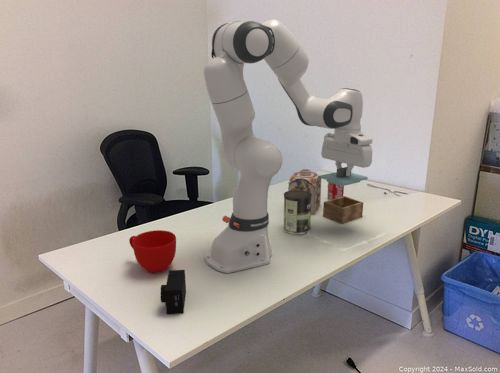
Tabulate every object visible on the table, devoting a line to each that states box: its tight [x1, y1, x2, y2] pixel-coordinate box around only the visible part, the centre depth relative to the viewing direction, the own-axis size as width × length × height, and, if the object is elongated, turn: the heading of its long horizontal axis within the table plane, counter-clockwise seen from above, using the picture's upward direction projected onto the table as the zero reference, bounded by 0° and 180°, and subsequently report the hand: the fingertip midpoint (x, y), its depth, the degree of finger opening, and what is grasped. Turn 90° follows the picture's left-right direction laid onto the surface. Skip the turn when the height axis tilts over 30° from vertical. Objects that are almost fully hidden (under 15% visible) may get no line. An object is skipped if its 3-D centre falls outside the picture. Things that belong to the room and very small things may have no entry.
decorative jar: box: [287, 168, 322, 216], centre depth 171 cm, size 12×12×18 cm
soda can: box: [327, 182, 345, 201], centre depth 184 cm, size 7×7×12 cm
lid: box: [319, 166, 369, 187], centre depth 145 cm, size 13×11×5 cm
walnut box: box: [322, 195, 364, 225], centre depth 163 cm, size 12×10×7 cm
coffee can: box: [282, 190, 312, 235], centre depth 152 cm, size 10×10×14 cm
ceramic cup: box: [129, 229, 177, 274], centre depth 126 cm, size 13×17×10 cm
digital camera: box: [160, 269, 187, 315], centre depth 107 cm, size 10×5×7 cm, turn 5°
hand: (343, 174), depth 145 cm, fingers closed on lid
